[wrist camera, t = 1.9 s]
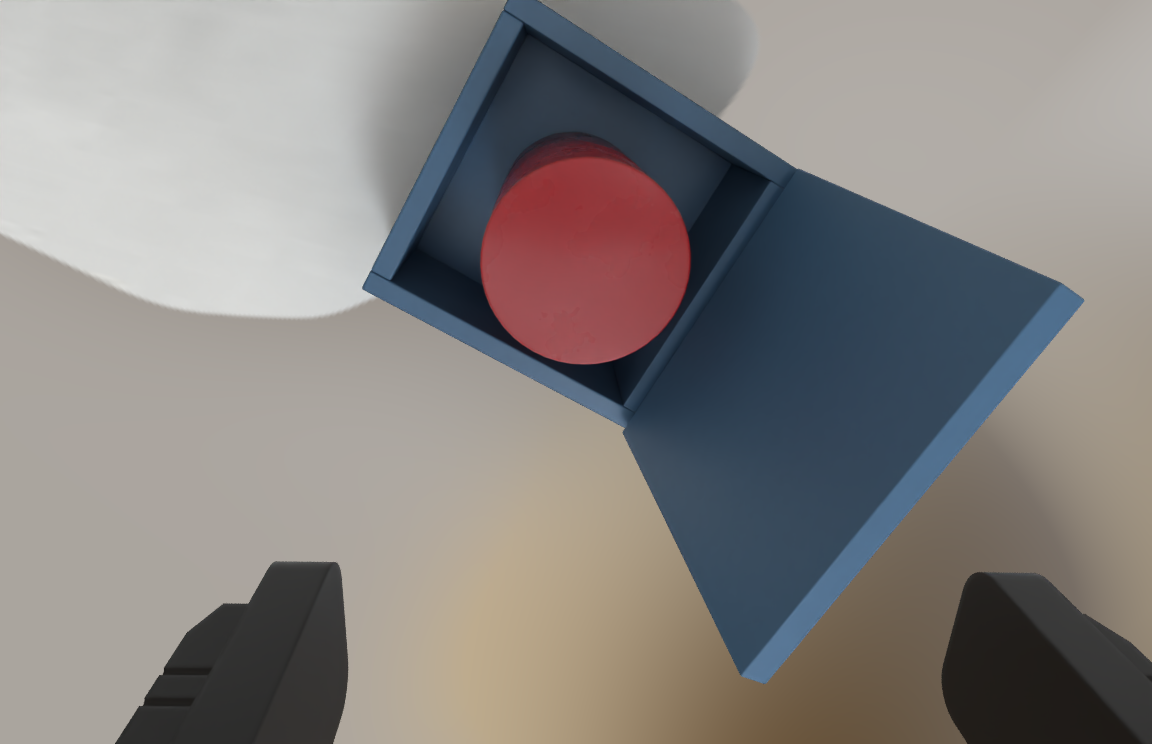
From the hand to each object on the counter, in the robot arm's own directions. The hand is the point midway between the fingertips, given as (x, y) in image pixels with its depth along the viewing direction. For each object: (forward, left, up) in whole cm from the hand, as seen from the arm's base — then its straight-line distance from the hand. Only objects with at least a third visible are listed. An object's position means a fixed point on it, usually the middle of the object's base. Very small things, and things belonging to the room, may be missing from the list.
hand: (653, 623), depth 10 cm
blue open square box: (-1, +1, -26) cm, 26 cm away
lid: (+6, +1, -13) cm, 14 cm away
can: (-1, +1, -26) cm, 26 cm away
